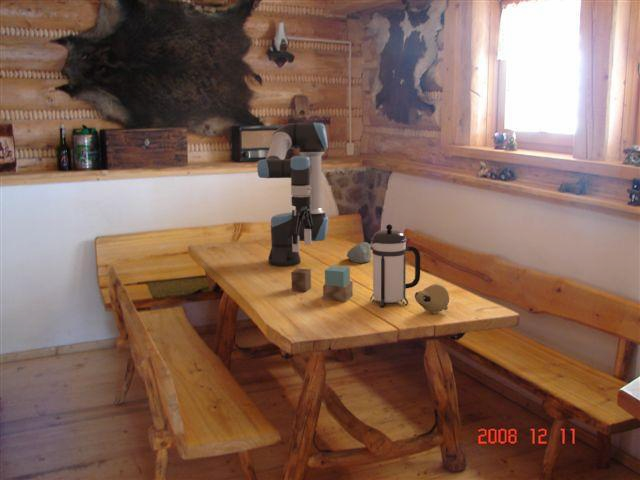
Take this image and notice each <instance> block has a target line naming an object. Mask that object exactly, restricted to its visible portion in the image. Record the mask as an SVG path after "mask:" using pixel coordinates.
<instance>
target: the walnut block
mask: <svg viewBox="0 0 640 480" xmlns="http://www.w3.org/2000/svg"><path fill="white" fill-rule="evenodd" d="M290 275H291V276H290V277H291V292H296V291H299V293H307V292H308V291H310V290H311V289H312V279H311V278H312V276H311V275H312V274H311V268H310V269H309V268H295V269H294V270H292V271H291V272H290Z"/></svg>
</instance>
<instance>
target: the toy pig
mask: <svg viewBox="0 0 640 480" xmlns="http://www.w3.org/2000/svg"><path fill="white" fill-rule="evenodd" d="M414 297H415V298H414V299H415V301H416V302H417V304H419V305H420V306H421V307H422V308H423V309H424V310H425V312H428V313H432V315H433V316H437V315H438V313H439V312H442V311H444V310H445V311H447V310H448V309H449V307H448V305H449V301H450V294H449V292H448V290H447V288H446V287H445V286H444V285H442V284H441V283H433V284H432V285H429V286H427V287H426V288H424V289H422V290H419V291H417V292H415V293H414Z"/></svg>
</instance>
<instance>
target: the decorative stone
mask: <svg viewBox="0 0 640 480" xmlns="http://www.w3.org/2000/svg"><path fill="white" fill-rule="evenodd" d="M371 249H372V248H370V243H369V242H365V241H364V242H359V243H357V244H356V245H354V246H353V247H352V248H351V249H350V250H348V251H347V253H346V257H347V258H348V260H349V261H351V262H353V263H358V264H365V263H369V262H371V260H372V252H371V251H372V250H371Z"/></svg>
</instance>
